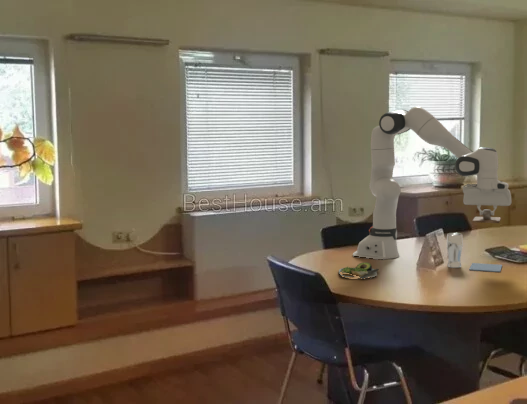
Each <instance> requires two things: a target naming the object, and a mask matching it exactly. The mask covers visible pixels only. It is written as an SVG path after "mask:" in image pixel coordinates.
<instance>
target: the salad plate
mask: <svg viewBox="0 0 527 404" xmlns="http://www.w3.org/2000/svg"><path fill="white" fill-rule="evenodd" d="M378 271H379V268H375V269H374V268H373V267H372V264H371V263H370V262H361V263H358V264H357V266H355V267H349V266H346V267H342V268H339V270H338V275H339V274H340V272H342V273H349V274H352V275H356V276H359V277H360V278H362V279H364V278H368V277H374V278H376V277H377V276H378ZM340 275H341V274H340ZM340 275H339V276H340ZM341 276H344V277H350V276H349V275H341ZM341 276H340V277H341ZM375 276H376V277H375ZM364 280H365V279H364Z"/></svg>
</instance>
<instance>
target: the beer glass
mask: <svg viewBox="0 0 527 404" xmlns="http://www.w3.org/2000/svg"><path fill="white" fill-rule="evenodd" d="M463 240H464V239H463V233H460V232H449V233H447V235H446V250H447V254H448V255H447V256H448V262H447V267H448V268H451V269H460V268H462V262H461V260H462V258H461V257H462V251H463V246H464V242H463Z"/></svg>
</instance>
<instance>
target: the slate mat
mask: <svg viewBox="0 0 527 404" xmlns="http://www.w3.org/2000/svg"><path fill="white" fill-rule="evenodd" d="M502 267H503V264H493V263H479V262H476V263H475V262H472V263H471V264H470V267H469V268H468V270H469V271H474V272H488V273H489V272H490V273H501V271H502Z"/></svg>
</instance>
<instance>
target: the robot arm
mask: <svg viewBox="0 0 527 404" xmlns="http://www.w3.org/2000/svg"><path fill="white" fill-rule="evenodd" d="M410 130H411V131H412V132H414V133H415V134H416V136H418V137H419V138H420V139H422V140H423V141H424V142H425V143H427V144H429V145H433V146H437V147H442V148H444V149H446V150H447V151H449V152H450V153H452V154H453V156H455V157H456V158H457V160H455V163H454V169H455V171H456V173H457V174H458V175H460V176H462V177H471V176H476V183H473V184H472V183H466V184H465V185H464V186H463V187H462V193H463V201H462V202H463V204H464V205H466V206H468V205H469V206H476V208H477V210H478V211H479V216H483V210H482V209H481V207H482V206H493V210H491V217H495V211H496V210H497V208H498V207H499V206H501V207H509V206H511V204H512V193H511V190H510V189H509V186H510V185H509V183H508V182H505V181H502V180H499V175H498V169H499V155H498V151H497V149H495V148H492V147H485V146H480V147H478V149H476V150H474V151H473V150H471V149H470V148H468V147H467V146H466V145H465V144H464V143H462V142H461V141H460V140H459V139H458V138H457V137H455V136H454V135H453V134H452V133H451V132H450V131H449V130H448V129H447V128H446V126H444V124H442V123H441V122H440V121H439V120H438V119H437V118H436V117H435V116H434V115H433V114H432V113H430V112H429V111H427V110H426V109H425V108H423V107H421V106H419V105H418V106H414V107H411V108H410V109H409V110H406V109H396V110H392V111H386V112H385V113H383V114H382V115H381V117H380V119H379V122H378V125H376V126H375V127H373V129H372V130H371V135H370V136H371V137H370V138H371V139H370V153H371V154H370V155H371V156H370V157H371V160H370V161H371V170H370V177H369V178H370V181H369V186H368V187H369V191H370V193H371V194H372V195H373V196H374V197H375V203H374V209H373V211H372V226H371V227H370V228H369V229H368V233H369V235H367V236H366V237H364V238H363V239H362V240H361V241H359V243H358V245H357V249H356V251H354V252H353V253H352V257H354V256H359V257H358V258H360V257H366V258H365V259H369V258H373V259H372V260H378V259H383V260H387V259H388V260H389V259H395V258H396V259H397V258H399V257H400V253H399V249H398V242H397V238H398V230H397V229H398V228H397V208H398V202H399V197H400V195H401V187H400V184H399V183H398V182H397V181H396V180H395V179H393V176H394V173H393V172H394V168H395V164H396V161H395V160H396V158H395V137H396V136H397V135H401V134H403V133H407V132H409V131H410Z"/></svg>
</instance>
